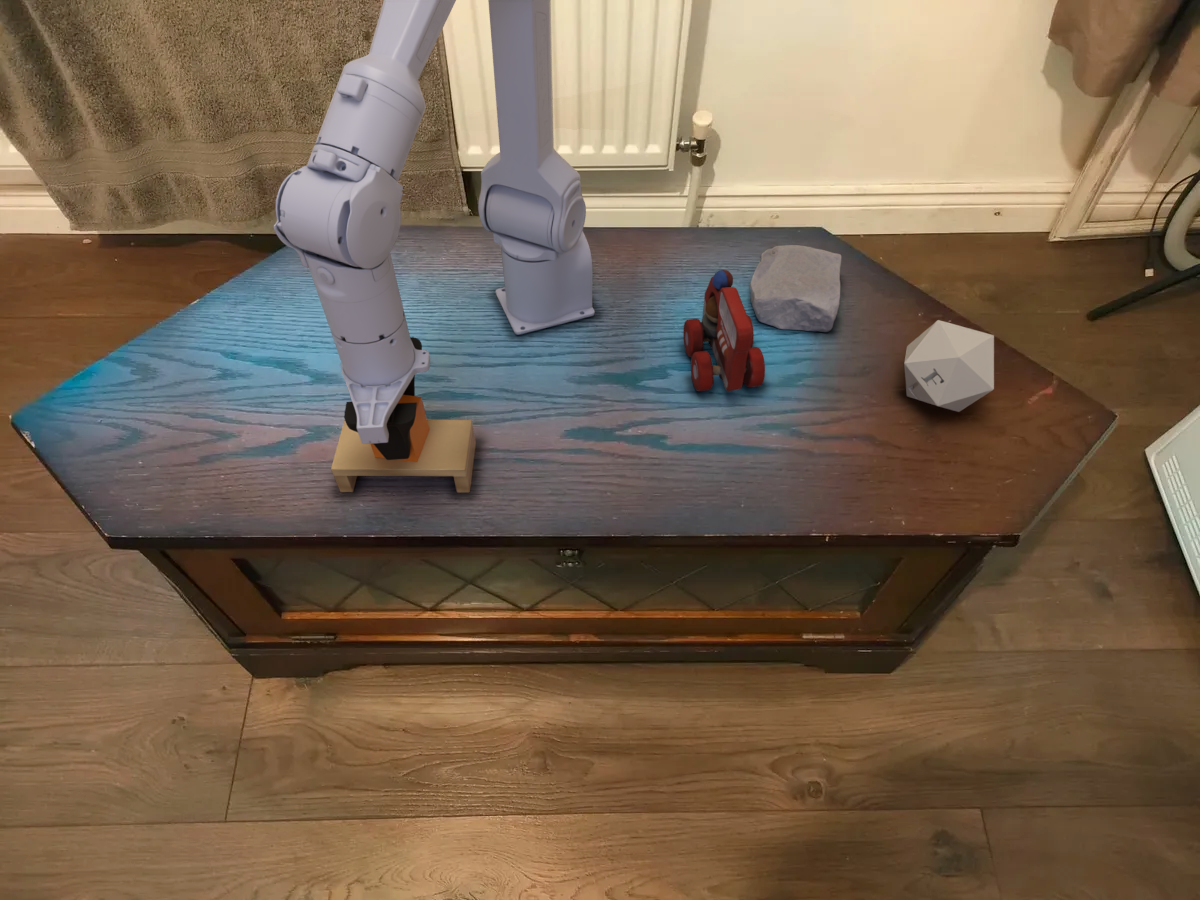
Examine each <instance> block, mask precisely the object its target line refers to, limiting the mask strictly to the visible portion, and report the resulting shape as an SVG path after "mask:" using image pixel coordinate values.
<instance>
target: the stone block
mask: <svg viewBox="0 0 1200 900" xmlns="http://www.w3.org/2000/svg"><path fill="white" fill-rule="evenodd" d="M841 266H842V255H841V254H840V253H836V252H835V253H834V252H832V251H829V250H825V249H821V248H816V247H813V246H804V245H797V244H788V245H787V244H786V245H775V246H773V247H772V248H768V249H765V251H763V252H762V253H761V255H760V260H759V263H758V264H757V265H756V267H755V269H754V271H753V275H752V277H751V280H750V284H749V288H750V302H751V307H752V309H753V311H754V315H755V317H756V319H757V320H758V322H760V323H763V324H766V325H769V326H771V327H774V328H777V329H779V330H791V331H792V330H794V331H797V330H798V331H806V332H821V333H825V332H826V333H828V332H830V331H831V330H832V329H833V327H834V324H835V320H836V318H837V314H838V313H839V312H838V310H839V306H840V300H841V299H840V298H841V280H840V275H841Z"/></svg>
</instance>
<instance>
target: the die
mask: <svg viewBox="0 0 1200 900" xmlns="http://www.w3.org/2000/svg"><path fill="white" fill-rule="evenodd" d="M904 356H905V358H904V361H903V362H904V363H903V364H904V378H905V389H906V391H905V393H906V397H908V398H911V399H914V400H918V401H921V402H923V403H927V404H931V405H933V406H936V407H940V408H943V409H947V410H950V411H954V412H957V413H960V412H961V411H963V410H964V409H966V408H968V407H969V406H971V405H972V404H974V403H975V402H977V401H979V400H980V399H981V398H983V397H985V396H986V395H988V394H989V393H991V392H993V390H995V335H994V334H990V333H987V332H984V331H979V330H977V329H973V328H968V327H964V326H961V325H958V324H954V323H952V322H951V323H950V322H948V321H943V320H940V319H938V320H936V321H935V322H934V323H933V324H931V325H930V326H929V327H928V328H926V330H924V331H923V332H922V333H921V334H920V335H918V336H917V337H916V338H914V340H912V341H911V342H909V344H908V345H906V351H905V355H904Z"/></svg>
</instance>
